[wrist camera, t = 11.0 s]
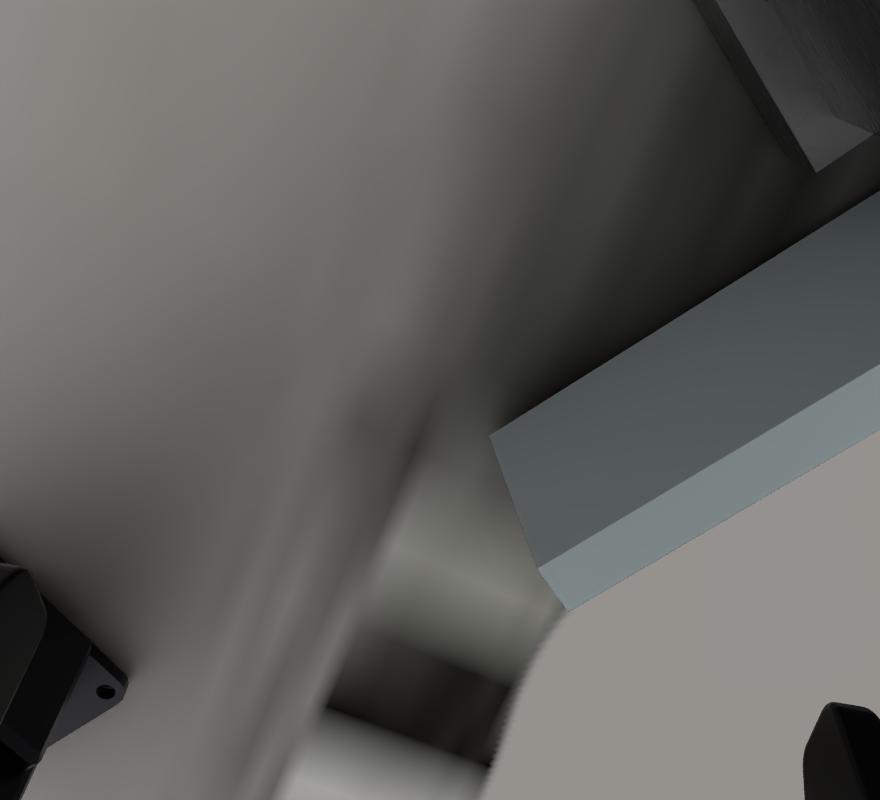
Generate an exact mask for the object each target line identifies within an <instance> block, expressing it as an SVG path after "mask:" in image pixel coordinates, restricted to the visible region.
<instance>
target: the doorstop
mask: <svg viewBox="0 0 880 800" xmlns="http://www.w3.org/2000/svg"><path fill="white" fill-rule="evenodd" d="M693 1H694V2H695V4H696V6H697V7H698V9H699V11H700V12H701V14H702V16H703V17H704V19H705V21H706V22H707V24H708V26H709V27H710V29H711V31H712V32H713V34H714V36H715V37H716V39H717V41H718V43H719V44H720V46H721V48H722V49H723V51H724V53H725V54H726V56H727V58H728V59H729V61H730V63H731V64H732V66H733V68H734V69H735V71H736V73H737V74H738V76H739V78H740V79H741V81H742V83H743V85H744V86H745V88H746V90H747V91H748V93H749V95H750V96H751V98H752V100H753V101H754V103H755V105H756V106H757V108H758V110H759V111H760V113H761V115H762V116H763V118H764V120H765V122H766V123H767V125H768V127H769V128H770V130H771V132H772V133H773V135H774V137H775V138H776V140H777V142H778V143H779V145H780V147H781V148H782V150H783V152H784V153H785V154H786V155H787V156H789V157H791V158H792V159H794V160H796V161H797V162H799V163H801V164H802V165H804V166H806V167H807V168H809V169H811V170H812V171H814V172H816V173H817V172H819V171H820V170H822V169H823V168H825V167H826V166H828V165H829V164H830V163H832V162H833V161H835V160H836V159H838V158H839V157H841V156H842V155H844V154H845V153H847V152H848V151H850V150H851V149H853V148H854V147H856V146H857V145H859V144H860V143H862V142H863V141H864V140H866V139H867V138H869V137H870V136H872V135H873V134H875V135H878V136H880V0H693Z"/></svg>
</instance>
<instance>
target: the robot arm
mask: <svg viewBox="0 0 880 800" xmlns="http://www.w3.org/2000/svg"><path fill="white" fill-rule="evenodd" d="M102 685H110V686H112V687H113V688H114V689H106V688H104V687H102ZM127 687H128V678H127V677H126V675H125V674H124V673H123V672H122V671H121V670H120V669H119V668H118V667H117V666H116V665H115V664H114V663H113V662H112V661H111V660H110V659H108V658H107V657H106V656H105V655H104V654H103V653H102V652H101V651H100V650H99V649H98V648H97V647H96V646H95V645H94V644H93V643H91V641H90V640H89V639H88V638H87V637H86V636H85V635H84V634H83V633H82V632H81V631H80V630H79V629H78V628H77V627H76V626H75V625H73V624H72V623H71V622H70V621H69V620H68V619H67V618H66V617H65V616H64V615H63V614H62V613H61V612H60V611H59V610H58V609H56V608H55V607H54V606H53V605H52V604H51V603H50V602H49V601H48V600H47V599H46V598H45V597H44V596H43V595H42V594H41V593H39V591H38V588H37V585H36V583H35V580H34V577H33V575H32V573H31V572H30V570H28V569H27V568H26V567H23V566H17V565H11V564H8V563H7V562H5V561H4V560H3V559H2V558H1V557H0V800H21V799H22V796H23V794H24V792H25V790H26V788H27V786H28V783H29V781H30V779H31V777H32V775H33V773H34V770H35V768H36V766H37V764H38V763H39V762H40V761H41V760H42V757H43V755H44V753H45V751H46V749H47V747H49V746H51V745H52V744H54V743H55V742H57V741H59V740H60V739H62V738H64V737H65V736H67V735H68V734H70V733H72V732H73V731H75V730H76V729H78V728H80V727H81V726H83V725H84V724H86V723H88V722H89V721H91V720H93V719H94V718H96V717H97V716H99V715H101V714H102V713H104V712H105V711H107V710H109V709H110V708H112V707H113V706H115V705H117V704H118V703H119V702H120V701H121V700H123V697H124V695H125V692H126V689H127ZM803 778H804V794H805V800H880V719H879V718H878V717H877V715H876V714H875V713H874V712H872V711H871V710H869V709H868V708H865V707H861V706H855V705H848V704H842V703H836V702H831V703H829V704H827V705H826V706H825V707H824V709H823V710H822V712H821V714H820V717H819V719H818V721H817V723H816V725H815V727H814V730H813V732H812V734H811V736H810V738H809V740H808V742H807V745H806V747H805V751H804V757H803Z"/></svg>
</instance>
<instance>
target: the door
mask: <svg viewBox="0 0 880 800" xmlns="http://www.w3.org/2000/svg"><path fill="white" fill-rule="evenodd" d="M878 430H880V191H878V192H877V193H875V194H874V195H872V196H870V197H869V198H867V199H866V200H864V201H862V202H861V203H859V204H858V205H856V206H855V207H853V208H851V209H850V210H848V211H847V212H845V213H843V214H842V215H840V216H839V217H837V218H835V219H834V220H832V221H831V222H829V223H827V224H826V225H824V226H823V227H821V228H819V229H818V230H816V231H815V232H813V233H811V234H810V235H808V236H807V237H805V238H804V239H802V240H800V241H799V242H797V243H796V244H794V245H792V246H791V247H789V248H788V249H786V250H784V251H783V252H781V253H780V254H778V255H776V256H775V257H773V258H772V259H770V260H768V261H767V262H765V263H764V264H762V265H761V266H759V267H757V268H756V269H754V270H753V271H751V272H749V273H748V274H746V275H745V276H743V277H741V278H740V279H738V280H737V281H735V282H733V283H732V284H730V285H729V286H727V287H725V288H724V289H722V290H721V291H719V292H717V293H716V294H714V295H713V296H711V297H710V298H708V299H706V300H705V301H703V302H702V303H700V304H698V305H697V306H695V307H694V308H692V309H690V310H689V311H687V312H686V313H684V314H682V315H681V316H679V317H678V318H676V319H674V320H673V321H671V322H670V323H668V324H667V325H665V326H663V327H662V328H660V329H659V330H657V331H655V332H654V333H652V334H651V335H649V336H647V337H646V338H644V339H643V340H641V341H639V342H638V343H636V344H635V345H633V346H631V347H630V348H628V349H627V350H625V351H623V352H622V353H620V354H619V355H617V356H616V357H614V358H612V359H611V360H609V361H608V362H606V363H604V364H603V365H601V366H600V367H598V368H596V369H595V370H593V371H592V372H590V373H588V374H587V375H585V376H584V377H582V378H580V379H579V380H577V381H576V382H574V383H573V384H571V385H569V386H568V387H566V388H565V389H563V390H561V391H560V392H558V393H557V394H555V395H553V396H552V397H550V398H549V399H547V400H545V401H544V402H542V403H541V404H539V405H537V406H536V407H534V408H533V409H531V410H529V411H528V412H526V413H525V414H523V415H522V416H520V417H518V418H517V419H515V420H514V421H512V422H510V423H509V424H507V425H506V426H504V427H502V428H501V429H499V430H498V431H496V432H494V433H493V434H491V435H490V436H489V437H490V440H491V443H492V445H493V448H494V451H495V454H496V457H497V459H498V462H499V465H500V468H501V470H502V473H503V476H504V479H505V481H506V484H507V487H508V490H509V493H510V495H511V498H512V501H513V504H514V506H515V509H516V512H517V515H518V517H519V520H520V523H521V526H522V528H523V531H524V534H525V537H526V540H527V542H528V545H529V548H530V551H531V553H532V556H533V559H534V562H535V564H536V567H537V569H538V571H539V572H540V574H541V575H542V576H543V578H544V579H545V580H546V582H547V583H548V585H549V586H550V587H551V589H552V590H553V591H554V593H555V594H556V596H557V597H558V598H559V600H560V601H561V602H562V604H563V605H564V606H565V608H566V609H567V611H568V612H570V611H571V610H573V609H575V608H576V607H578V606H580V605H582V604H583V603H585V602H587V601H588V600H590V599H592V598H593V597H595V596H597V595H598V594H600V593H602V592H604V591H605V590H607V589H609V588H611V587H612V586H614V585H616V584H617V583H619V582H621V581H623V580H624V579H625V578H628V577H629V576H631V575H632V574H634V573H636V572H638V571H639V570H641V569H643V568H645V567H646V566H648V565H650V564H652V563H653V562H655V561H657V560H658V559H660V558H662V557H663V556H665V555H667V554H669V553H670V552H672V551H674V550H675V549H677V548H679V547H680V546H682V545H684V544H686V543H687V542H689V541H690V540H692V539H694V538H696V537H698V536H699V535H701V534H703V533H704V532H706V531H708V530H710V529H711V528H713V527H715V526H716V525H718V524H720V523H721V522H723V521H725V520H727V519H728V518H730V517H732V516H733V515H735V514H737V513H739V512H740V511H742V510H744V509H745V508H747V507H749V506H750V505H752V504H754V503H756V502H757V501H759V500H761V499H762V498H764V497H766V496H768V495H769V494H771V493H772V492H774V491H776V490H778V489H780V488H781V487H783V486H784V485H786V484H788V483H790V482H791V481H793V480H795V479H796V478H798V477H800V476H802V475H803V474H805V473H807V472H809V471H810V470H812V469H814V468H815V467H817V466H819V465H820V464H822V463H824V462H826V461H827V460H829V459H830V458H832V457H834V456H836V455H837V454H839V453H841V452H843V451H844V450H846V449H848V448H849V447H851V446H853V445H855V444H856V443H858V442H860V441H861V440H863V439H865V438H867V437H868V436H870V435H871V434H873V433H875V432H877V431H878Z"/></svg>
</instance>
